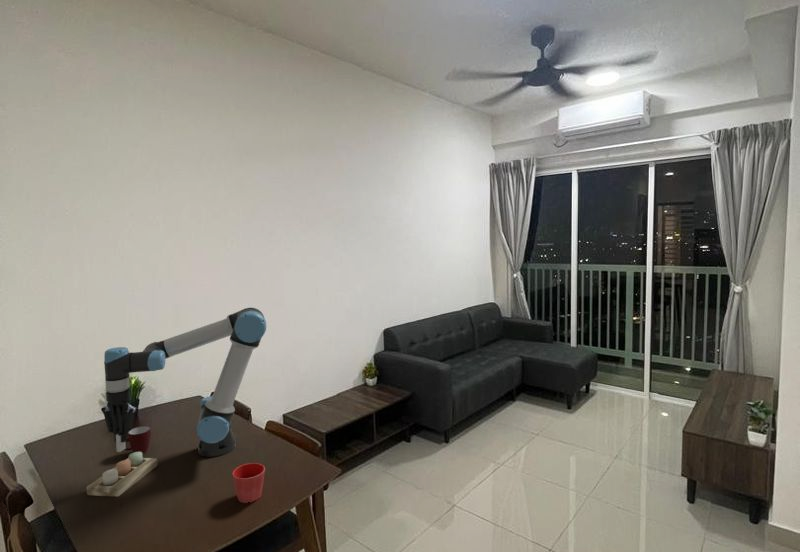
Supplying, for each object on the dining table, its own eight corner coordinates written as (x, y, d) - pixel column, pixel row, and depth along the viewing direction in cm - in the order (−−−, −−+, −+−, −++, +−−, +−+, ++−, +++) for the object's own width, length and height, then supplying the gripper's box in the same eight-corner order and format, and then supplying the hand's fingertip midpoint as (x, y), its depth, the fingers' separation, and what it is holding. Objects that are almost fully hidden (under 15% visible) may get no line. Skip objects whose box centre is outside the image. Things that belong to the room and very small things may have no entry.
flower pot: (254, 484, 157) (253, 459, 156) (271, 495, 150) (270, 469, 149) (227, 498, 149) (226, 471, 148) (244, 510, 142) (243, 482, 141)
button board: (157, 465, 171) (156, 458, 171) (118, 496, 151) (117, 488, 150) (129, 464, 173) (129, 457, 172) (87, 495, 152) (86, 487, 151)
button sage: (145, 460, 170) (144, 451, 170) (137, 466, 165) (136, 457, 165) (134, 459, 170) (134, 451, 170) (126, 465, 166) (125, 457, 165)
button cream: (121, 478, 157) (120, 469, 157) (111, 485, 152) (111, 476, 152) (109, 477, 157) (109, 468, 157) (99, 484, 153) (99, 475, 152)
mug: (125, 461, 175) (123, 438, 174) (120, 455, 180) (119, 432, 180) (154, 452, 182) (152, 430, 181) (148, 446, 188) (147, 424, 187)
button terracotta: (133, 468, 163) (133, 460, 163) (125, 475, 159) (124, 466, 159) (122, 468, 164) (122, 459, 164) (113, 474, 159) (113, 466, 159)
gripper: (141, 386, 162) (144, 446, 164) (109, 385, 163) (112, 444, 165) (127, 393, 154) (130, 455, 156) (93, 392, 156) (97, 454, 157)
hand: (121, 450), depth 160 cm, fingers closed
